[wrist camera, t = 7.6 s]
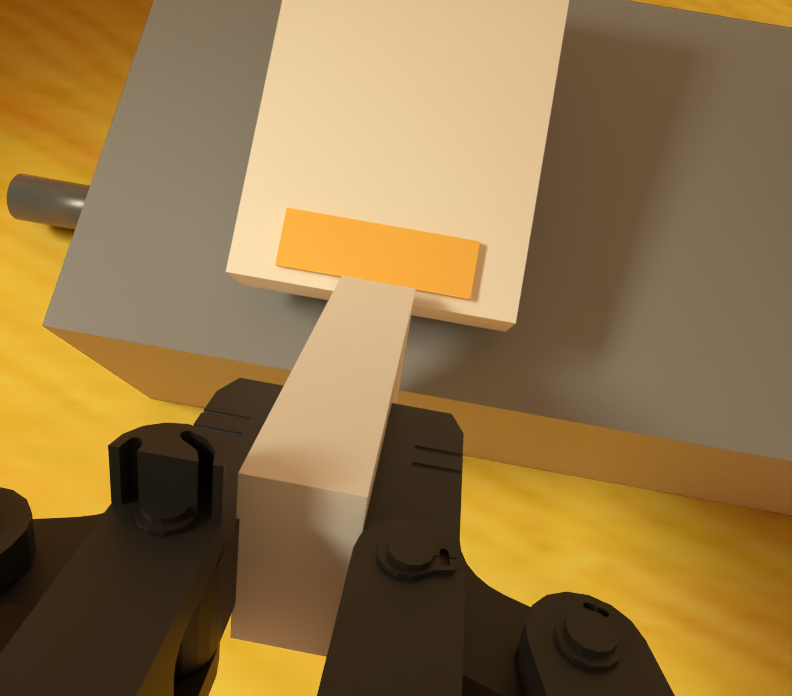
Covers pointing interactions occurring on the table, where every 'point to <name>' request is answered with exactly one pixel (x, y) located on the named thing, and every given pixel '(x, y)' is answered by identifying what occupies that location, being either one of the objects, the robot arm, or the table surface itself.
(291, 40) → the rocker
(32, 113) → the table surface
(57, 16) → the table surface
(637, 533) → the table surface
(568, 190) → the rocker switch box
